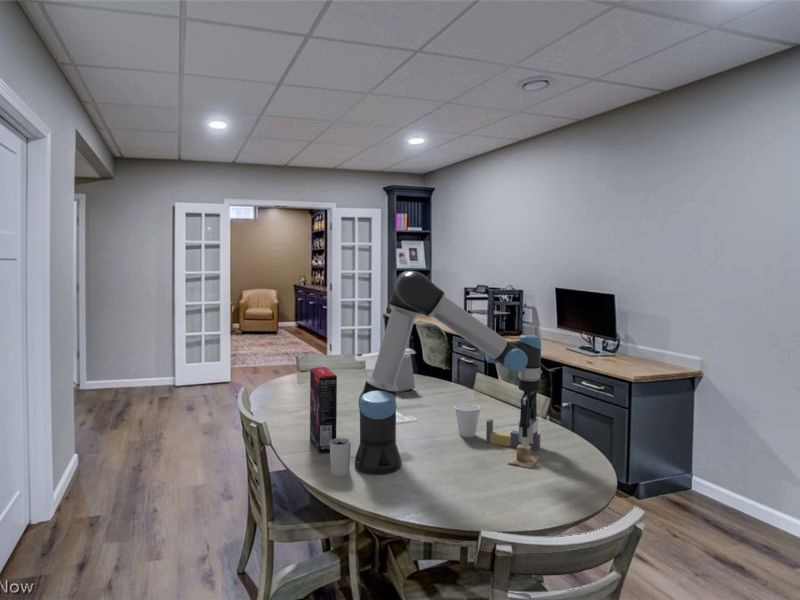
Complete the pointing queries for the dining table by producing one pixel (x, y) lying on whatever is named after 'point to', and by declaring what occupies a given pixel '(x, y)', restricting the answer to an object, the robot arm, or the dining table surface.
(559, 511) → the dining table surface
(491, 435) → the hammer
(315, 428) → the graphics card box
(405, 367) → the electrical switch box
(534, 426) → the grey block
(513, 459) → the tan tabbed plate
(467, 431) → the cup
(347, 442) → the toilet paper roll
